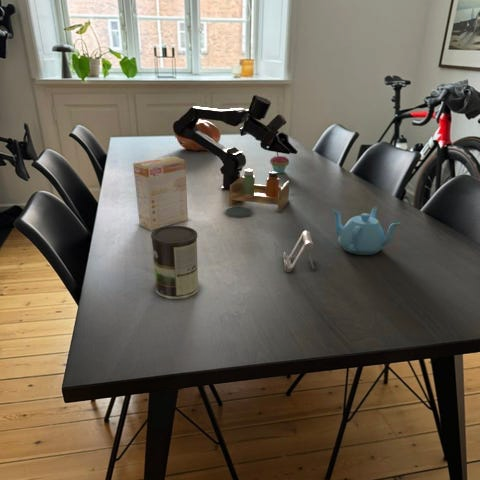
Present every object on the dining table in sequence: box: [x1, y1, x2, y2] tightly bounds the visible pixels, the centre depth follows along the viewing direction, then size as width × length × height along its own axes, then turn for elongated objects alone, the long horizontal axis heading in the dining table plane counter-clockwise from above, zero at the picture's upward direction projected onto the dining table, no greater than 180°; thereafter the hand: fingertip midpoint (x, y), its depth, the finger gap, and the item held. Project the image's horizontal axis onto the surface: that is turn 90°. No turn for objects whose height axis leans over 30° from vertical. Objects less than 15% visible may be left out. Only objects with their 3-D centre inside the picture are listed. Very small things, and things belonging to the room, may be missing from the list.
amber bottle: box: [266, 170, 280, 197], centre depth 164 cm, size 4×4×8 cm
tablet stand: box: [282, 230, 315, 273], centre depth 121 cm, size 9×8×8 cm
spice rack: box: [229, 175, 291, 213], centre depth 167 cm, size 19×14×8 cm
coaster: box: [225, 206, 253, 218], centre depth 159 cm, size 9×9×1 cm
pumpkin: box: [174, 119, 222, 152], centre depth 245 cm, size 25×25×19 cm
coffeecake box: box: [132, 155, 189, 231], centre depth 144 cm, size 15×7×20 cm, turn 134°
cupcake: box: [269, 152, 290, 174], centre depth 206 cm, size 9×8×12 cm
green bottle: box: [242, 168, 256, 194], centre depth 166 cm, size 4×4×8 cm
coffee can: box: [150, 225, 199, 300], centre depth 106 cm, size 10×10×14 cm
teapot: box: [331, 206, 402, 256], centre depth 132 cm, size 15×15×10 cm
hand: (293, 152), depth 167 cm, fingers open, 9 cm apart
